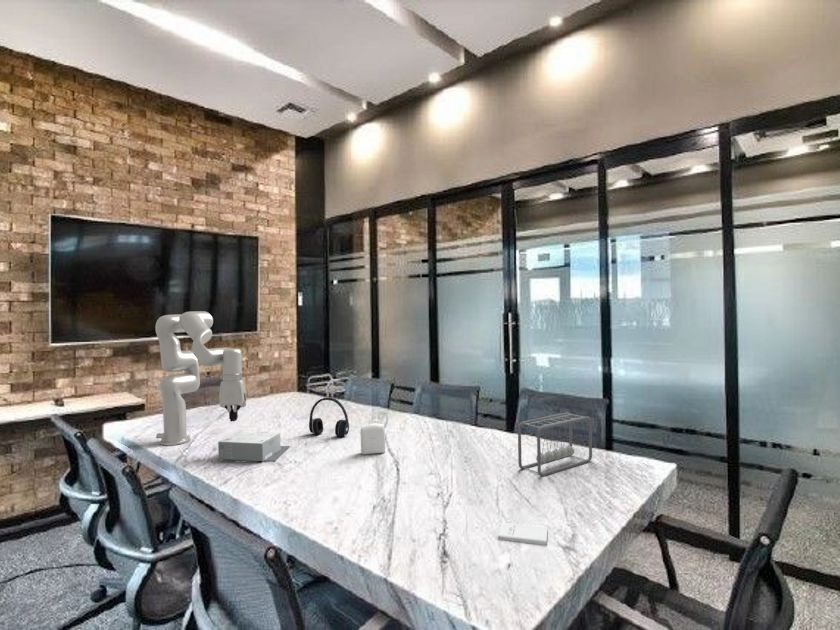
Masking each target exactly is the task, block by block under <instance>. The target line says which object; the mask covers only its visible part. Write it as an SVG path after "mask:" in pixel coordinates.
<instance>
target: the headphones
mask: <svg viewBox="0 0 840 630" xmlns="http://www.w3.org/2000/svg"><path fill="white" fill-rule="evenodd" d="M322 401H330V402H334V403H336V405H338V407H340V409H341V410H342V413H343V415H344V419H339V420H337V421H336V424H335V428H334V434H335V436H336V437H340V438H343V437H344V436H346V435H348V434H349V431H350V423H349V418H348V412H347V411H346V409H345V407H344V405H343V404H342V402H340V401H339V400H338V399H337V398H334V397H322V398H320V399H319V400H317V401H316V402H315V403H314V404H313V406H312V407H311V409H310V413H309V422H308V429H309V430H308V431H309V432H310V433H312V434H313V436H318V435H322V433H323V432H324V422H323V419H322V418H320V417H315V418H314V417H313V416H314V410H315V408H316V407H317V405H319V403H321V402H322Z"/></svg>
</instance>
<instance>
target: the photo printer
mask: <svg viewBox="0 0 840 630" xmlns="http://www.w3.org/2000/svg"><path fill="white" fill-rule="evenodd" d="M384 426H385V425H384V424H381V423H375V422H373V423H372V422H371V423H367V424H364V425H362V426H361V429H360V447H361V448H360V453H361V455H370V454H383V453H386V434H385V433H386V432H385V431H386V430H385V427H384Z"/></svg>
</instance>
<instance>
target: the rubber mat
mask: <svg viewBox="0 0 840 630" xmlns="http://www.w3.org/2000/svg"><path fill="white" fill-rule="evenodd" d="M289 448H291V445H281V450H280V451H278V452H277V453H275V454H274V455H272V456H271V457H269V458H267V459H266V460H264V461H273V462H277V460H278V459H279V458H280V457H282V455H283V454H284V453H286V452H287V450H289ZM232 461H233V462H232ZM234 461H235V462H234ZM236 461H240V462H239V463H242V462H241V461H243V460H221V463H237V462H236Z"/></svg>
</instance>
